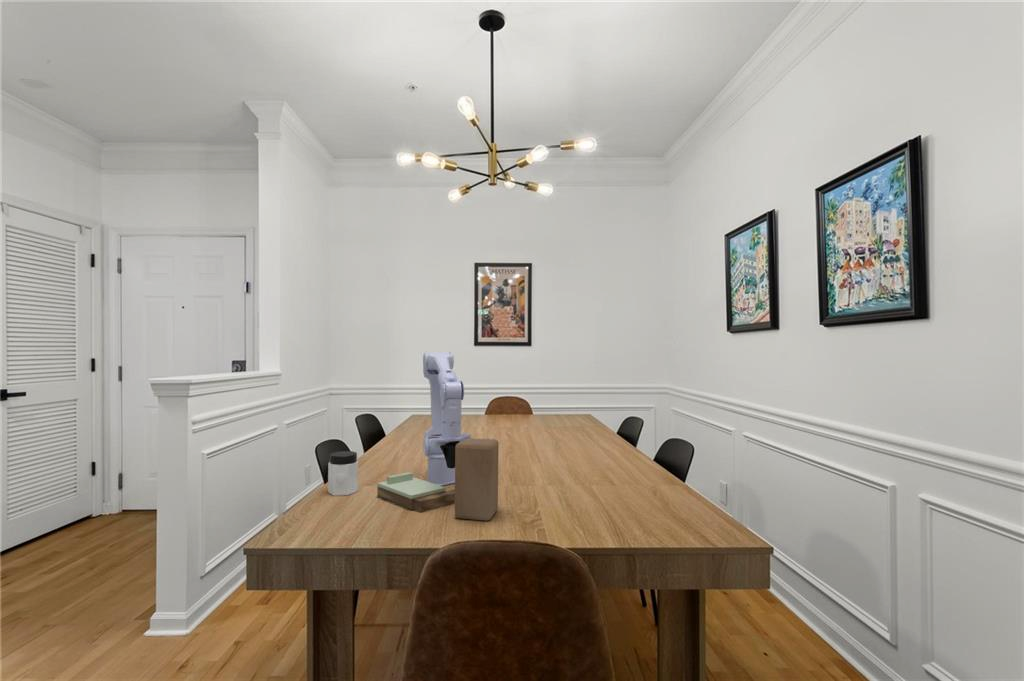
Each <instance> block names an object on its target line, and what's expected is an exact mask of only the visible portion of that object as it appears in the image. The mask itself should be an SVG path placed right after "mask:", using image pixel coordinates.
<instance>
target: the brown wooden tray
mask: <svg viewBox="0 0 1024 681" xmlns="http://www.w3.org/2000/svg"><path fill="white" fill-rule="evenodd" d="M376 489H377V491H376V492H377V493H376V494H377V495H376V496H377V498H379V499H381V500H384V501H386V502H389V503H390V504H391V503H392V505H396V506H398V507H401V508H404V509H406V510H409V511H416V512H418V513H423V512H427V511H430V510H431V511H432V510H435V509H438V508H442V507H446V506H447V507H448V506H449V505H453V504H454V505H455V488H454V489H452V490H447V491H443V492H439V493H435V494H431V495H427V496H423V497H418V498H414V499H410V498H407V497H404V496H402V495H399V494H396V493H394V492H391V491H388V490H386V489H383V488H380V487H378V486H377V488H376Z"/></svg>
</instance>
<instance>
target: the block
mask: <svg viewBox="0 0 1024 681" xmlns="http://www.w3.org/2000/svg"><path fill="white" fill-rule="evenodd" d="M454 489H455V503H454V516H455V517H454V518H456V519H461V520H471V521H472V520H476V521H485V522H486V521H491V519H492V518H493V516H494V515H495V514H496V513H497V511H498V508H499V441H498V440H497V439H495V438H494V439H493V438H492V439H490V438H489V439H488V438H474V437H471V438H467V439H464V440H463V441H461V442H459V443H458V444H456V447H455V483H454Z"/></svg>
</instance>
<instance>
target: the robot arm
mask: <svg viewBox="0 0 1024 681" xmlns="http://www.w3.org/2000/svg"><path fill="white" fill-rule="evenodd" d="M454 364H455V360H454V354H453V353H452V352H451V351H449V352H441V351H440V352H439V351H438V352H434V351H433V352H428V351H425V352H424V353H423V357H422V369H423V370H422V373H423V377H424V378H425V379H427V380H428V383H429V387H430V390H429V391H430V418H431V419H430V420H431V427H429V428H428V429H427V430H426V431H425V432H424V434H423V440H422V441H423V443H422V446H423V455H424V456H425V457H427V479H426V480H424V481H427V482H430V483H433V484H436V485H439V486H443V487H444V486H447V485H451V484H455V447H456V444H458V443H459V442H461V441H463V440H464V439H467V438H472V434H471V433H462V401H463V400H464V396H465V387H464V386H465V385H464V382H463V381H462V380H458V377H457V375H456V373H455V371H454V370H453V368H454Z"/></svg>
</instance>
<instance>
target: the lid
mask: <svg viewBox="0 0 1024 681" xmlns="http://www.w3.org/2000/svg"><path fill="white" fill-rule="evenodd" d="M377 487H380V488H383V489H386V490H388V491H391V492H394V493H396V494H399V495H402V496H404V497H407V498H410V499H414V498H418V497H423V496H427V495H431V494H435V493H439V492H443V491H445V492H446V490H447V488H446V486H444V485H443V486H439V485H436V484H433V483H430V482H427V481H425V480H424V479H420V478H417V477H415V476H414V473H413V472H410V471H409V472H404V473H399V474H393V475H387V476H386V481H382V482H381V481H380V482H377Z"/></svg>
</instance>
